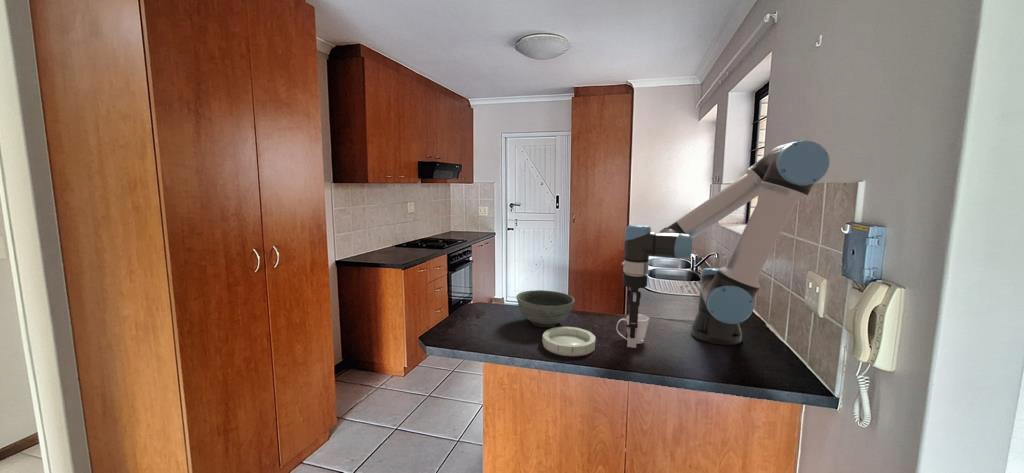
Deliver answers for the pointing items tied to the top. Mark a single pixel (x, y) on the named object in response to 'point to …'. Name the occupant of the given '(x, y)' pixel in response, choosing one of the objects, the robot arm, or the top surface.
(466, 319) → the top surface
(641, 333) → the cup
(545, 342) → the tray
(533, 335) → the top surface
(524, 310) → the bowl
